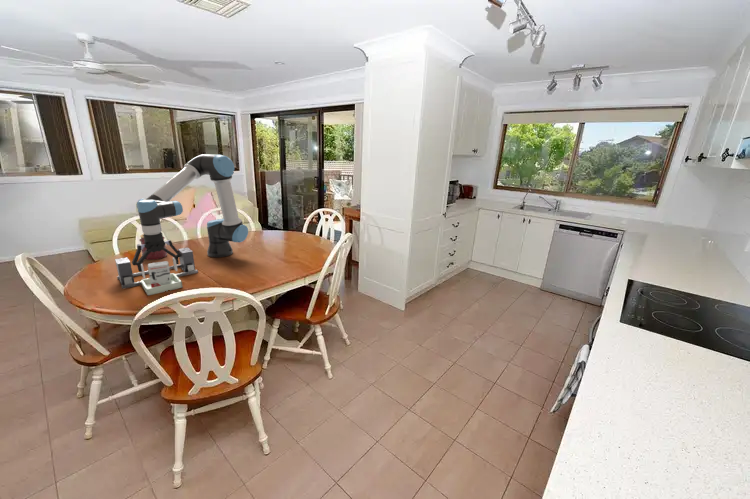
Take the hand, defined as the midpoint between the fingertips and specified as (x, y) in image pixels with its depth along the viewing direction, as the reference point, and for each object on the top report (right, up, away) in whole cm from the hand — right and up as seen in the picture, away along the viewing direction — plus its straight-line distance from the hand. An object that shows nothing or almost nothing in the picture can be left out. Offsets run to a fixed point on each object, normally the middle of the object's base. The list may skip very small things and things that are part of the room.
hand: (160, 273), depth 154 cm
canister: (-32, +7, +41) cm, 53 cm away
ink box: (0, -6, +2) cm, 7 cm away
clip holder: (-10, -2, +14) cm, 17 cm away
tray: (0, -7, +2) cm, 7 cm away
